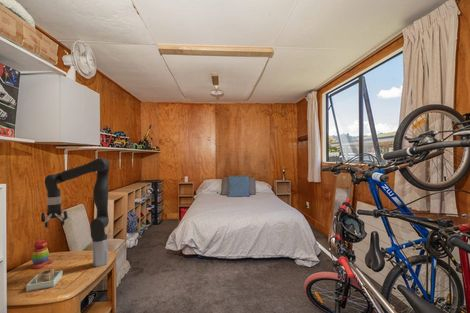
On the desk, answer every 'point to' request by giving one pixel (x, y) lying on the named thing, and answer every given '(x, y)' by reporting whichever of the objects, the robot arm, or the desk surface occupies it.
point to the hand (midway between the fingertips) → (54, 226)
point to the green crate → (36, 286)
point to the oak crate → (45, 276)
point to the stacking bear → (40, 254)
